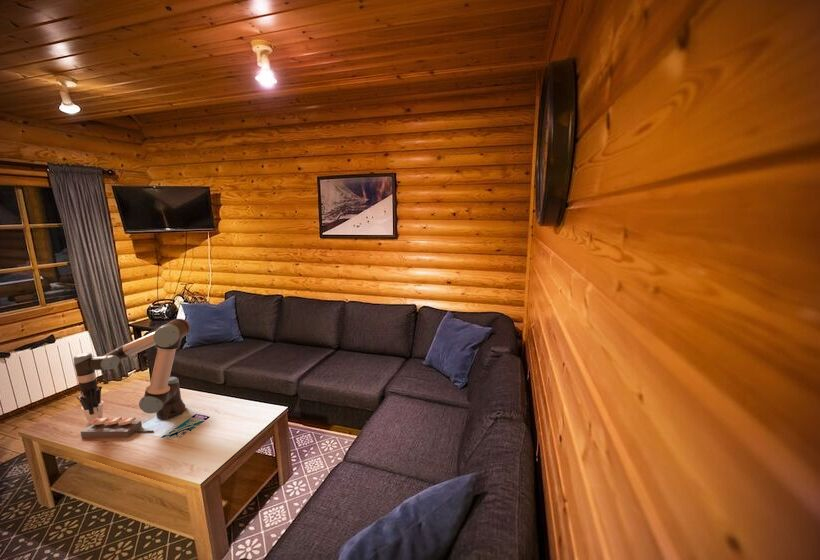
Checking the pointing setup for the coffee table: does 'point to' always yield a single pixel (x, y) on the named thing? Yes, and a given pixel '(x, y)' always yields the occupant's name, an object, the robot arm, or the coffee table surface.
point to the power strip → (112, 430)
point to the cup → (100, 411)
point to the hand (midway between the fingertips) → (95, 418)
